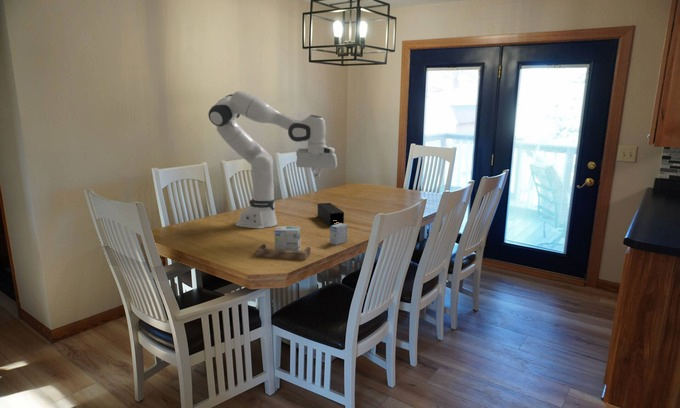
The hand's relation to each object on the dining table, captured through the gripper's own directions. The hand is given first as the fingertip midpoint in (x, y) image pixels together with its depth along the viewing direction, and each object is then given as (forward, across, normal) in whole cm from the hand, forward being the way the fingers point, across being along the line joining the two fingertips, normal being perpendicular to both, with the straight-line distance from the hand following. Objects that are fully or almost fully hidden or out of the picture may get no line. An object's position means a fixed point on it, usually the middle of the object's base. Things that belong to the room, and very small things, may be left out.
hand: (316, 176), depth 219 cm
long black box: (+25, +8, +14) cm, 30 cm away
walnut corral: (+29, -6, -37) cm, 47 cm away
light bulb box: (+29, -6, -31) cm, 43 cm away
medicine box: (+29, +14, -14) cm, 35 cm away
